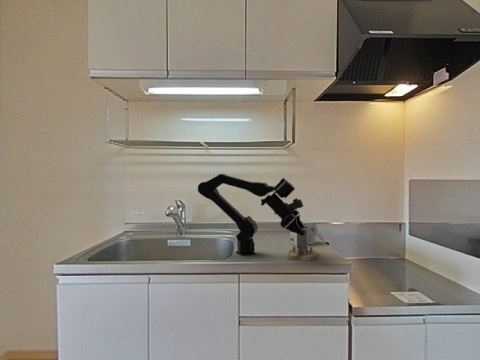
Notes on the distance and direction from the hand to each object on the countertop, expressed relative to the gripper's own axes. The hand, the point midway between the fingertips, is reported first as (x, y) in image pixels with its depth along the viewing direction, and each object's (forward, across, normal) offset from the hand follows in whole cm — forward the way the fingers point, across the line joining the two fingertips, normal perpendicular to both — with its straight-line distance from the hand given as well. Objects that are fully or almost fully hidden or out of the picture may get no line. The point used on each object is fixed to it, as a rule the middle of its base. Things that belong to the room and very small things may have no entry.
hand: (304, 233), depth 152 cm
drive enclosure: (+5, 0, +6) cm, 8 cm away
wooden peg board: (+6, 0, +8) cm, 10 cm away
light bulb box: (+5, +27, +10) cm, 29 cm away
